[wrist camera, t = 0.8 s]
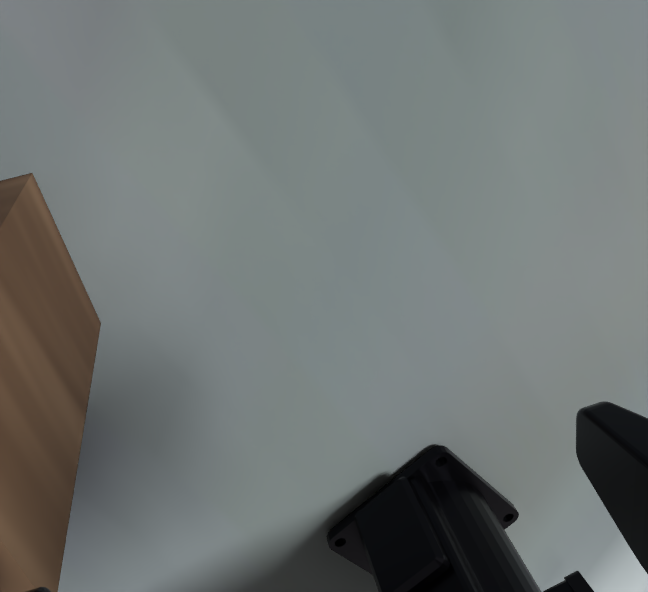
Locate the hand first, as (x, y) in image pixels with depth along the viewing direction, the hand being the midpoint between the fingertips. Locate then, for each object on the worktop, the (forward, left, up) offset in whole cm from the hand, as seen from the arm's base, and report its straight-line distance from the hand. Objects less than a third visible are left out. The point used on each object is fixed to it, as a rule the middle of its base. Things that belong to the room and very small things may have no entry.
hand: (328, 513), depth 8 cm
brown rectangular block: (+3, +5, -12) cm, 13 cm away
